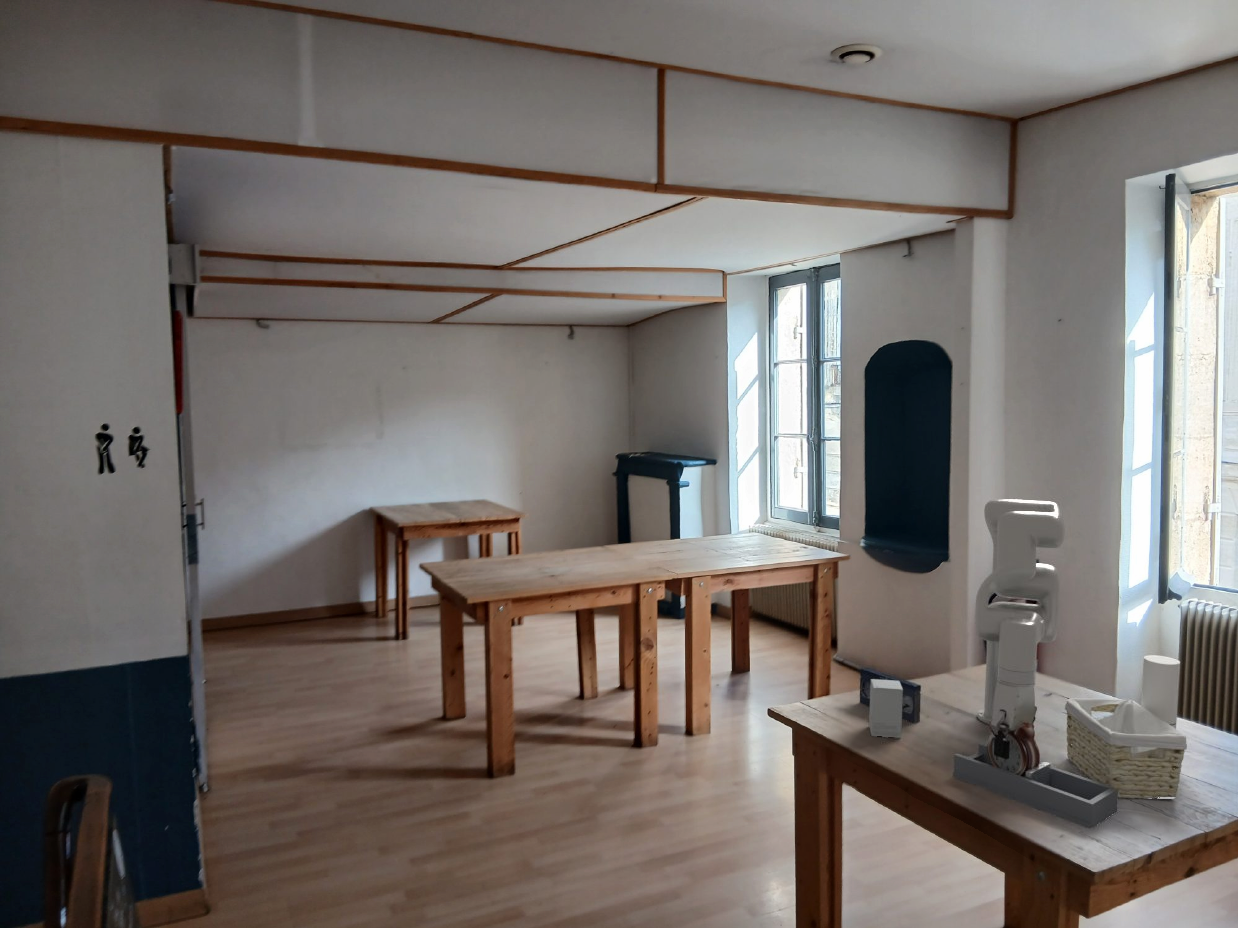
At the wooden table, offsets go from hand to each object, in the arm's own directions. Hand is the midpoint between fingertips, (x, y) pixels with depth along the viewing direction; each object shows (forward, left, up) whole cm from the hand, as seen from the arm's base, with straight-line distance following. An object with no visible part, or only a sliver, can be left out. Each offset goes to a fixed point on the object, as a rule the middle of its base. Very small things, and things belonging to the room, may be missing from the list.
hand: (1013, 751), depth 193 cm
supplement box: (-4, -36, -8) cm, 37 cm away
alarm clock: (0, +1, -6) cm, 6 cm away
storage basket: (-23, +13, -8) cm, 28 cm away
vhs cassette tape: (-17, -44, -8) cm, 47 cm away
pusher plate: (0, +6, -7) cm, 9 cm away
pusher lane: (0, +4, -8) cm, 9 cm away
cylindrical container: (-38, +14, -8) cm, 41 cm away
